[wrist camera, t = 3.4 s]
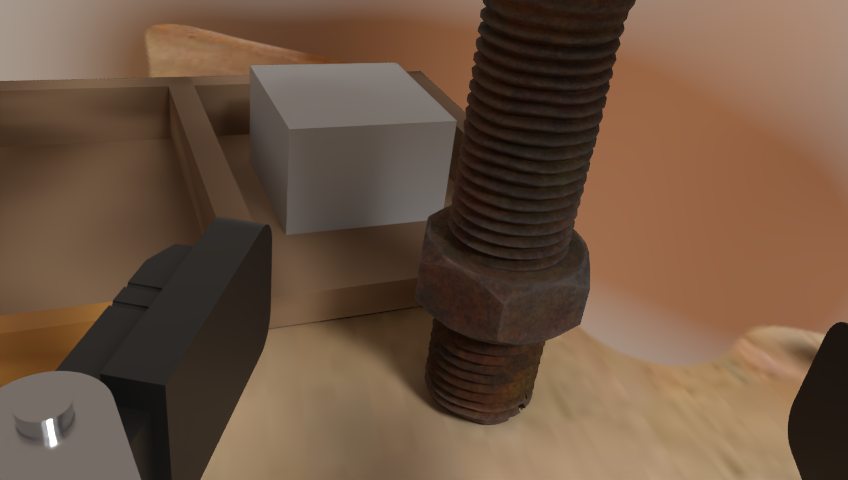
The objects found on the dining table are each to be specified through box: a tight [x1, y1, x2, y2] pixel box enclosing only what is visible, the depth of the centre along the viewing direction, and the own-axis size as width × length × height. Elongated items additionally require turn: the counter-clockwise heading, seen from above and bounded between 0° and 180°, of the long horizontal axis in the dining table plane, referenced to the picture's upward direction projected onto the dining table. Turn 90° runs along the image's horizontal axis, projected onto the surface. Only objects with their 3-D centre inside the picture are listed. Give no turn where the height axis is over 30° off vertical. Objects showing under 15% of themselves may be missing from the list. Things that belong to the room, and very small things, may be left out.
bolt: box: [415, 0, 636, 425], centre depth 19 cm, size 6×5×15 cm
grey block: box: [250, 63, 457, 235], centre depth 30 cm, size 6×6×4 cm
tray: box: [0, 71, 466, 387], centre depth 28 cm, size 22×14×4 cm, turn 112°
